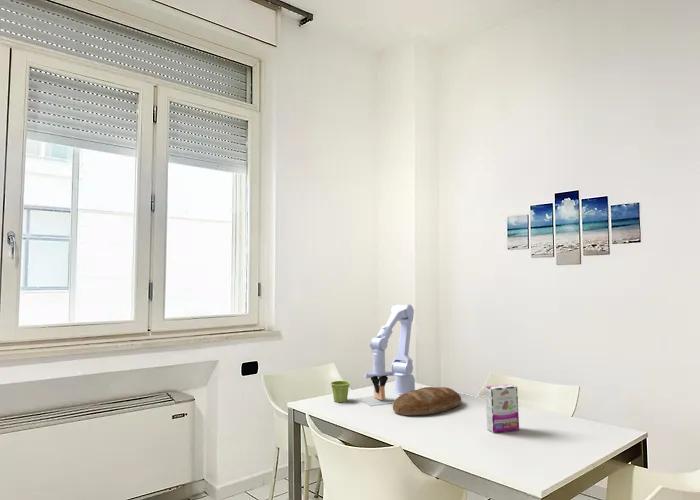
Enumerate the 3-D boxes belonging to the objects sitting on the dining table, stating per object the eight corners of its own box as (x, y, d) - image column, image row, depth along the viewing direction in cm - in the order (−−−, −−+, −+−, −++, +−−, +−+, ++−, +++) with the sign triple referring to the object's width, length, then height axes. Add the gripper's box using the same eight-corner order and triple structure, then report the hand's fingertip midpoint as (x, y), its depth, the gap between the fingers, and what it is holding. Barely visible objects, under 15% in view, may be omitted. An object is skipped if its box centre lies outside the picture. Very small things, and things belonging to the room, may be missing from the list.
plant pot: (354, 400, 241) (354, 381, 242) (343, 404, 233) (343, 385, 234) (337, 398, 246) (337, 380, 247) (326, 402, 238) (326, 383, 239)
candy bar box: (512, 426, 196) (510, 383, 197) (519, 430, 191) (518, 386, 192) (486, 429, 193) (484, 385, 194) (493, 433, 188) (491, 388, 189)
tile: (377, 397, 244) (377, 384, 244) (385, 399, 236) (384, 386, 237) (374, 397, 243) (373, 384, 244) (381, 399, 236) (380, 386, 236)
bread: (473, 405, 230) (472, 386, 231) (418, 421, 206) (418, 400, 206) (435, 396, 247) (435, 379, 247) (380, 411, 222) (380, 391, 223)
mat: (380, 396, 249) (380, 395, 249) (396, 403, 234) (396, 402, 234) (356, 398, 244) (356, 398, 244) (370, 406, 229) (370, 405, 229)
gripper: (388, 360, 247) (389, 389, 246) (361, 363, 241) (362, 392, 241) (395, 362, 241) (396, 392, 240) (367, 365, 235) (368, 395, 234)
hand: (379, 392), depth 240 cm, fingers closed on tile, 2 cm apart
